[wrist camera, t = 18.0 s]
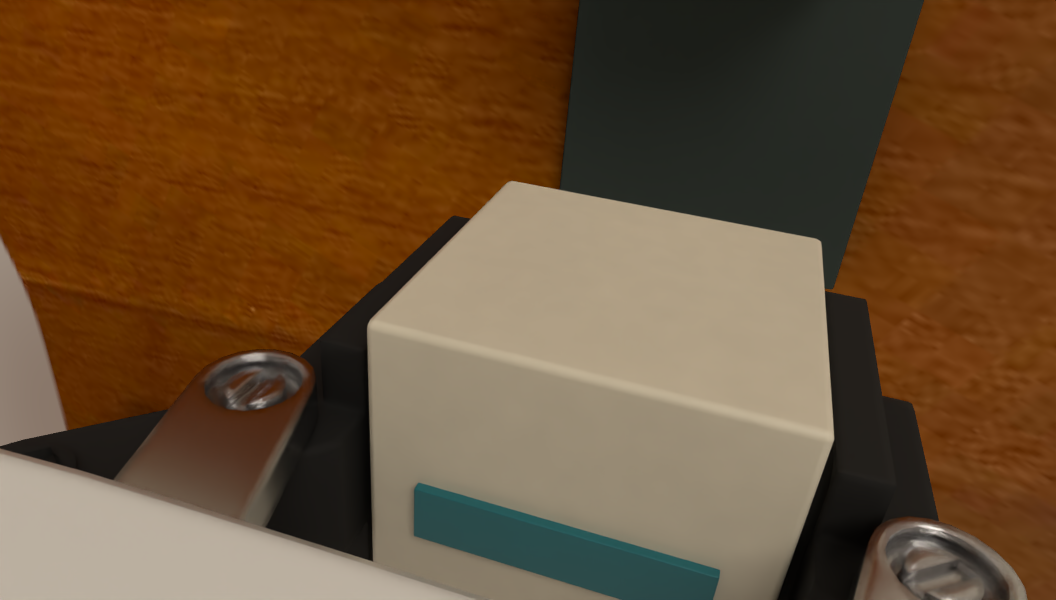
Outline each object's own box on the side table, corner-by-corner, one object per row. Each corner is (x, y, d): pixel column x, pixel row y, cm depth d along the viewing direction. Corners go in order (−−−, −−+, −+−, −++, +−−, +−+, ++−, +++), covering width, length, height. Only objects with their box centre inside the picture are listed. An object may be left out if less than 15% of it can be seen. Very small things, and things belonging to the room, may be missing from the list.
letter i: (508, 178, 11) (357, 327, 7) (823, 237, 10) (838, 445, 6) (490, 418, 13) (367, 630, 9) (749, 487, 12) (726, 753, 8)
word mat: (622, -369, 16) (619, -375, 16) (1033, -360, 15) (1040, -367, 14) (558, 228, 23) (554, 234, 23) (832, 282, 22) (832, 290, 21)
